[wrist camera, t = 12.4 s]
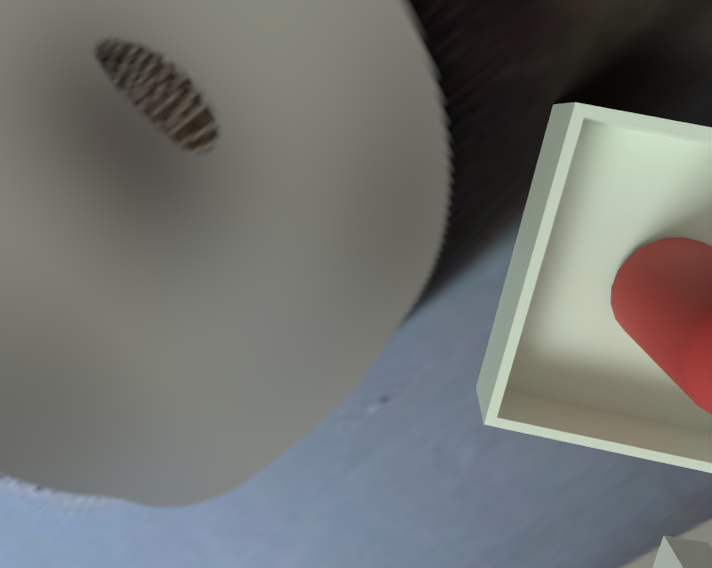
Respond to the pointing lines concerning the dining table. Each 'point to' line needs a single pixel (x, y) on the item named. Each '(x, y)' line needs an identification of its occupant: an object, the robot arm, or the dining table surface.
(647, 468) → the dining table surface
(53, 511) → the dining table surface
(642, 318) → the beer can
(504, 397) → the bin
